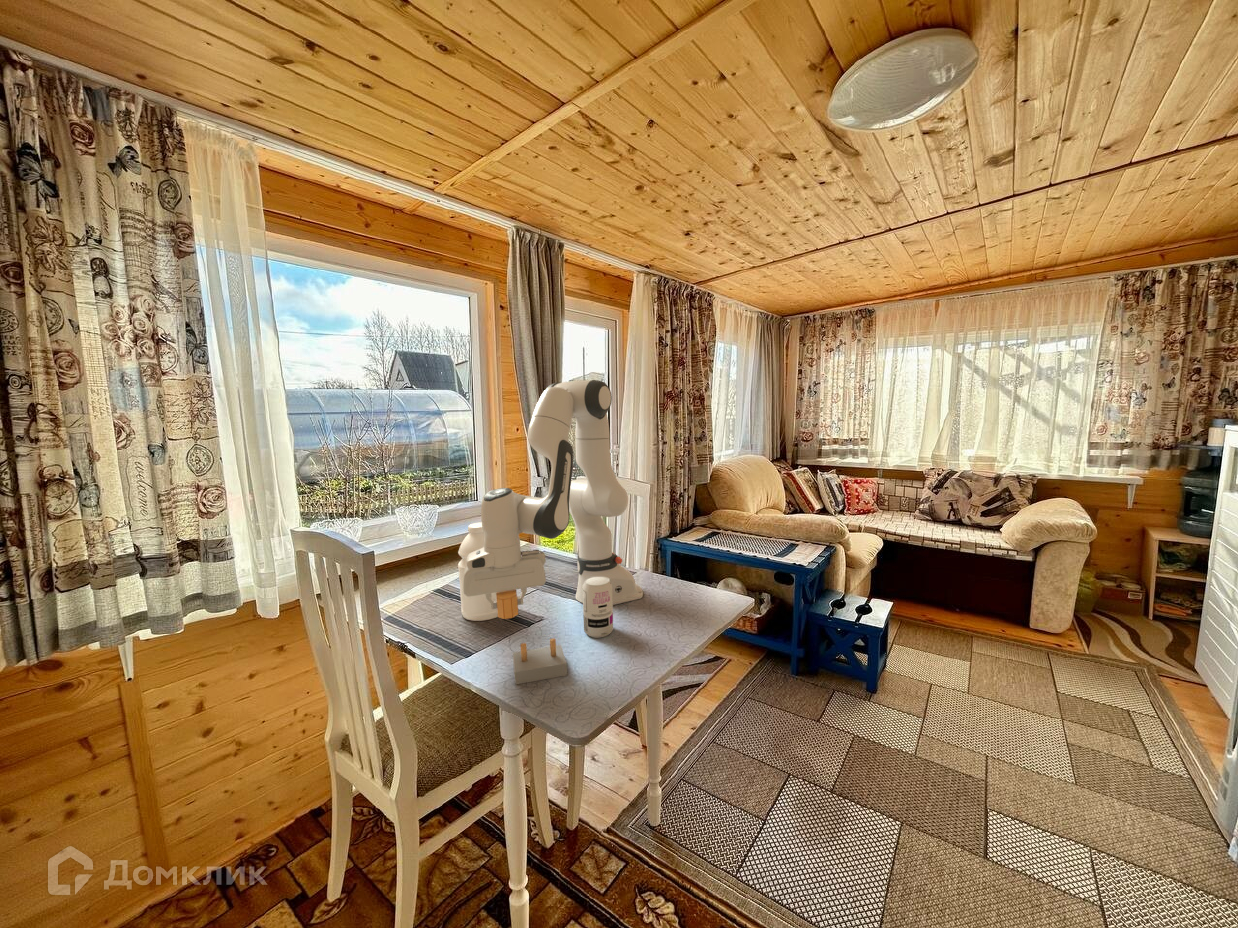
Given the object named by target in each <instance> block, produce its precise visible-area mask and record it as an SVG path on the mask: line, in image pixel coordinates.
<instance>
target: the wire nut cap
mask: <svg viewBox="0 0 1238 928" xmlns="http://www.w3.org/2000/svg"><path fill="white" fill-rule="evenodd" d="M517 596H518V594H517V589H516V590H509V591H502V592H496V598H497V610H498V617H497V618H499V619H502V620H504V619H505V620H508V619H512V618H515V617H516V616H518V615H519V605H518V603H517Z"/></svg>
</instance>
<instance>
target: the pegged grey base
mask: <svg viewBox="0 0 1238 928" xmlns="http://www.w3.org/2000/svg"><path fill="white" fill-rule="evenodd" d="M519 646H520V650H519V651H513V652H512V662H513V674H514V685H520V684H526V683H531V682H536V681H542V680H547V679H553V678H560V677H564V676H568V666H567V665H568V664H567V659H566V657H565V653H564V651H563V647H562V644H557V640H556V638H553V637H552V638H550V639H549V646H545V647H539V648H532V649H528V648H527V643H526V642H523V643H521V644H520V645H519Z"/></svg>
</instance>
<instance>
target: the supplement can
mask: <svg viewBox="0 0 1238 928" xmlns="http://www.w3.org/2000/svg"><path fill="white" fill-rule="evenodd" d="M582 590H583V603H582V610H583V612H582V614H583V630H584V633H585V634H586V635H587V636H589V637H591V638H595V639H596V638H597V639H598V638H604V637H608V636H609V635H610V634H611V633H612V632H613V630H614V609H613V608H614V607H613V606H614V605H613V603H612V584H611V582H610V580H609V578H607V577H604V576H592V577H589V578H587V579H585V581H584V584H583V586H582Z"/></svg>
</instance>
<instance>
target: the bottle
mask: <svg viewBox="0 0 1238 928" xmlns="http://www.w3.org/2000/svg"><path fill="white" fill-rule="evenodd" d="M467 531H468V534H467V535H465V537H464V539H463V540H462V542H461V544H460V546H459V547H458V548H459V549H458V551H457V553H458V555H459V557H461V560H460V561H459V562H458V564H457V567H458V568H457V569H458V578H459V581H458V582H459V594H460V595H459V596H460V606H461V607H460V612H461V615H462V617H463V618H464V619H466V620H468V621H475V622H477V621H478V622H480V621H488V620H489V621H490V620H493V619H495V618H499V617H498V610H497V609H491V603H490V602H489V601H488V600H487V599H486V594H483V595H476V596H470V597H467V596H466V595H465V594H464V590H463V584H464V573H465V568H466V566H467V564H466V559H467V556H468V554H469V553H471V552H474V551H476V550H478V549H481V548H483V547H484V539H485V535H484V531H483V529H482V521H481V522H480V521H479V522H473V523H471V524H469V525H468V526H467ZM491 596H492V599H493V600H497V598H496V593H491Z"/></svg>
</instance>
